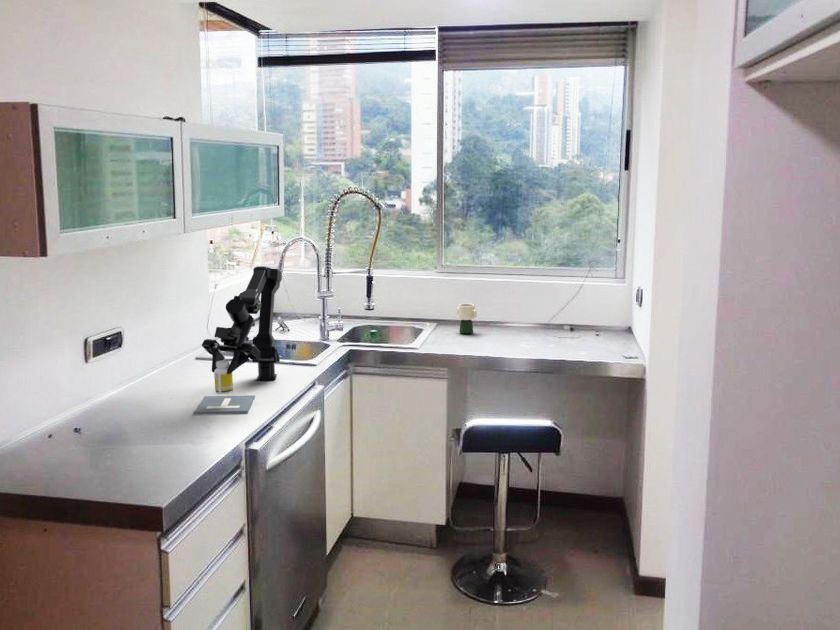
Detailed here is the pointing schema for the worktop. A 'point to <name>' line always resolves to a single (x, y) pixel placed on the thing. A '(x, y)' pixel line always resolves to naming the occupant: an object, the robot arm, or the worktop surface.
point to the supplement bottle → (223, 378)
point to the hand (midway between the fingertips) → (220, 372)
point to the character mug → (466, 317)
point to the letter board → (225, 404)
